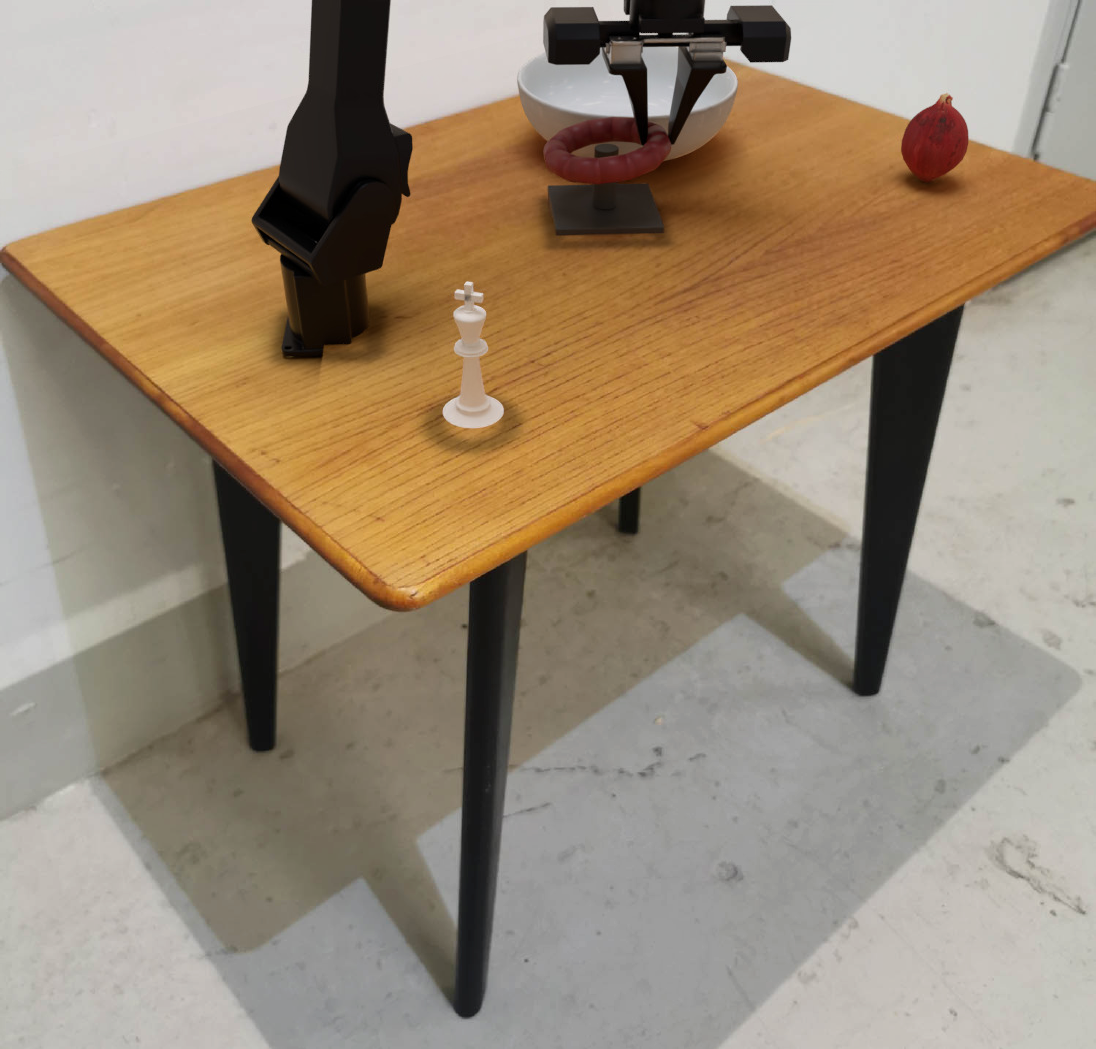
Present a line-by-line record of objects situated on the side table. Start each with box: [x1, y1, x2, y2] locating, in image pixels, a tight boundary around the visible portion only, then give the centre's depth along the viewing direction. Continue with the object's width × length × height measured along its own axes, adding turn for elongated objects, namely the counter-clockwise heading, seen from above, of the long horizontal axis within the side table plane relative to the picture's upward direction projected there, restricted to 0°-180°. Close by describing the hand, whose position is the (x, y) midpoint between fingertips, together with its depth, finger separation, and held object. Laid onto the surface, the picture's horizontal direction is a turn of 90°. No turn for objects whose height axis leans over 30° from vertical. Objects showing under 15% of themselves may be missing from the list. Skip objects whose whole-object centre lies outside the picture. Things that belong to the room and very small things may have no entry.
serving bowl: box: [516, 47, 739, 162], centre depth 108 cm, size 21×21×7 cm
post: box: [546, 144, 665, 236], centre depth 95 cm, size 9×9×6 cm
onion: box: [900, 92, 969, 183], centre depth 102 cm, size 6×6×8 cm
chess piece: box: [442, 281, 505, 429], centre depth 70 cm, size 5×5×10 cm
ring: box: [542, 117, 671, 185], centre depth 93 cm, size 10×10×2 cm
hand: (656, 143), depth 93 cm, fingers closed on ring, 2 cm apart
